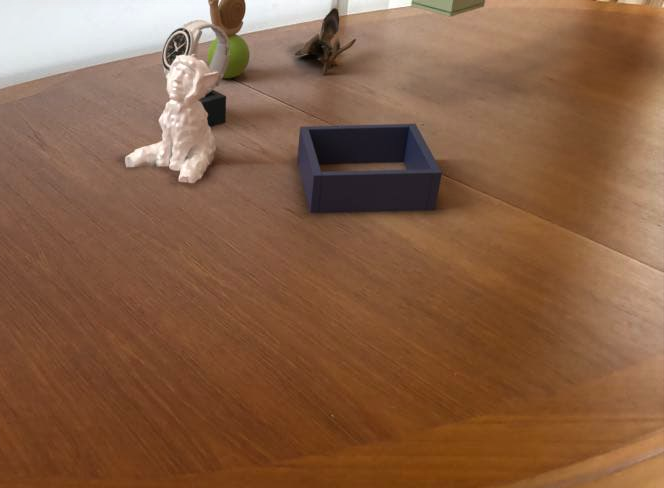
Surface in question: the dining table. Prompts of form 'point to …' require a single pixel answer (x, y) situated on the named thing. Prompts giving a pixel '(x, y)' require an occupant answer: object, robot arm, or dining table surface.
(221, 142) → the dining table surface
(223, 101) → the watch
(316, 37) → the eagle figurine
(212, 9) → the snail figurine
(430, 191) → the box
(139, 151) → the seated beast figurine
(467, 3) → the small bin
